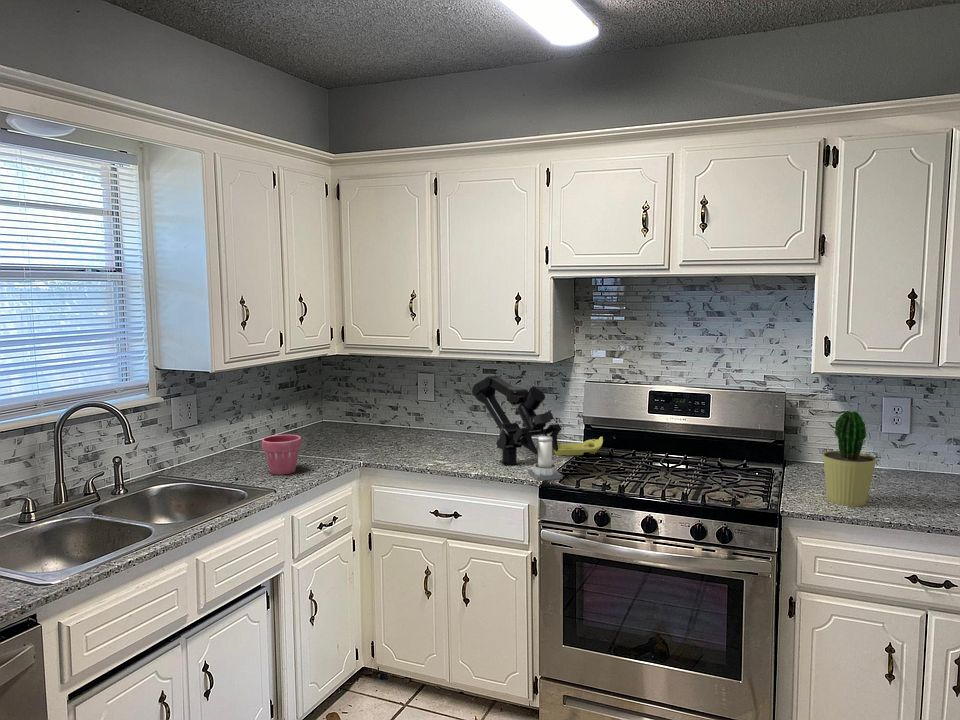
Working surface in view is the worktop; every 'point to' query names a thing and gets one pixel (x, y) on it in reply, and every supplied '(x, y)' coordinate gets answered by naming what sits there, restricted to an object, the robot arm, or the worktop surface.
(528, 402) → the robot arm
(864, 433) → the potted cactus
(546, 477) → the duct collar
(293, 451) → the plant pot
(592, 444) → the plastic component
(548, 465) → the white cylinder
